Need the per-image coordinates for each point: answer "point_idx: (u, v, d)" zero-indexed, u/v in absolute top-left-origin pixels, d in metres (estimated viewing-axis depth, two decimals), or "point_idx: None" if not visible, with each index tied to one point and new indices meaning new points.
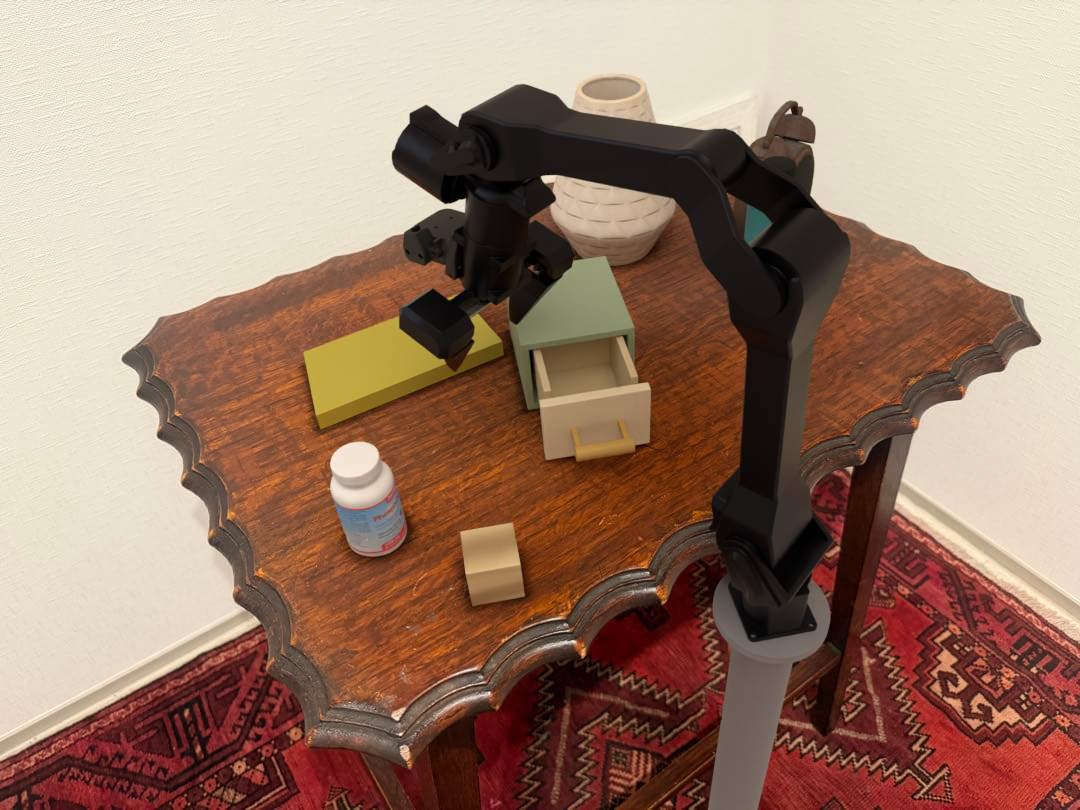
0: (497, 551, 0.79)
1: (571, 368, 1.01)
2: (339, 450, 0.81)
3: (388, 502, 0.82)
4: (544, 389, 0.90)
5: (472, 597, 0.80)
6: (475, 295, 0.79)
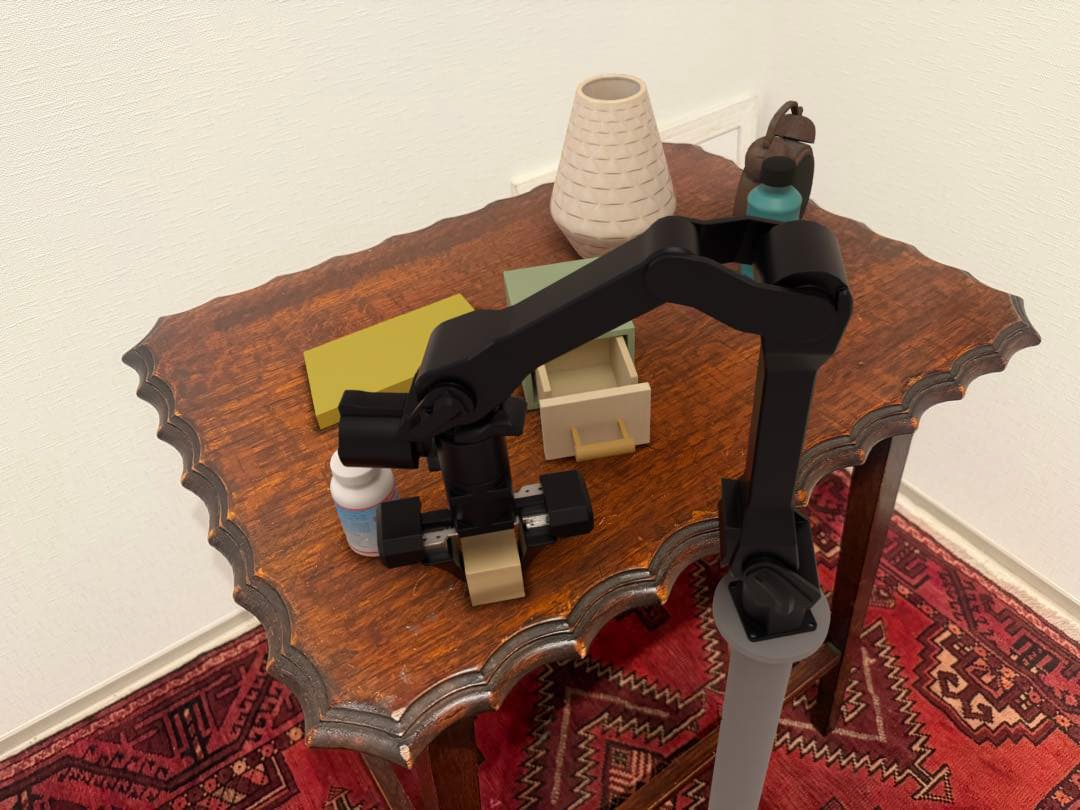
0: (497, 551, 0.79)
1: (571, 368, 1.01)
2: None
3: None
4: (544, 389, 0.90)
5: (472, 597, 0.80)
6: (452, 519, 0.75)
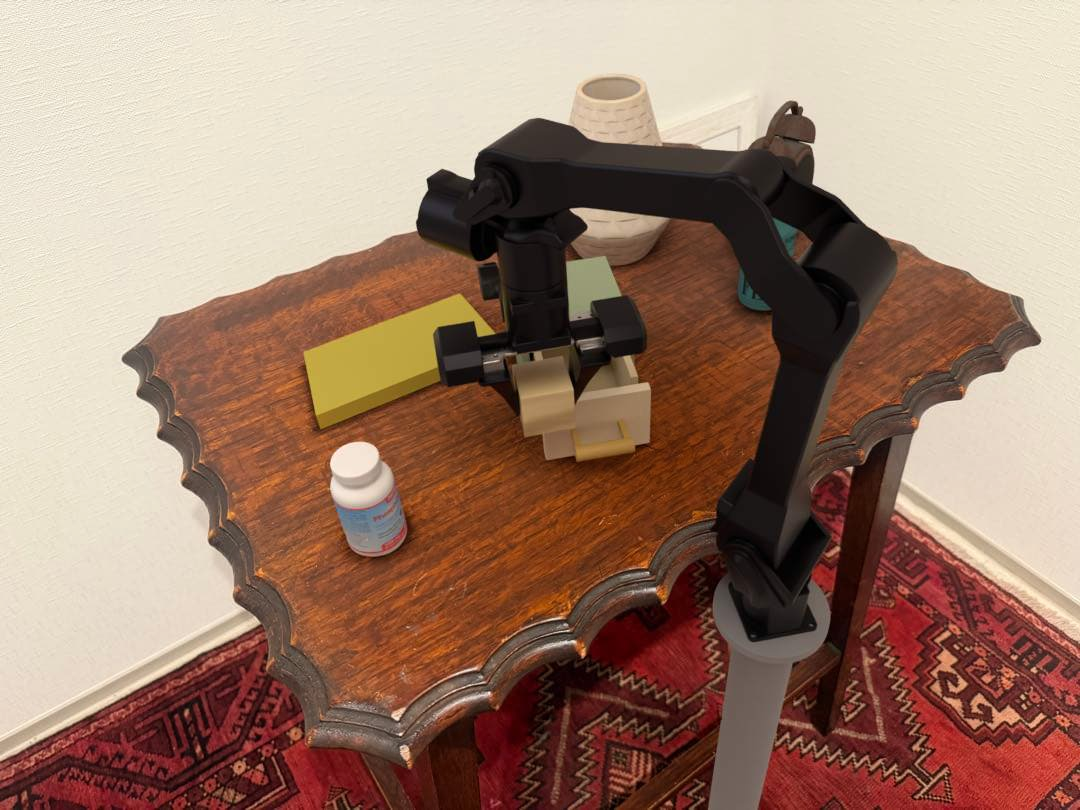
0: (549, 379, 0.81)
1: None
2: (339, 450, 0.81)
3: (388, 502, 0.82)
4: None
5: (525, 426, 0.82)
6: (508, 340, 0.77)
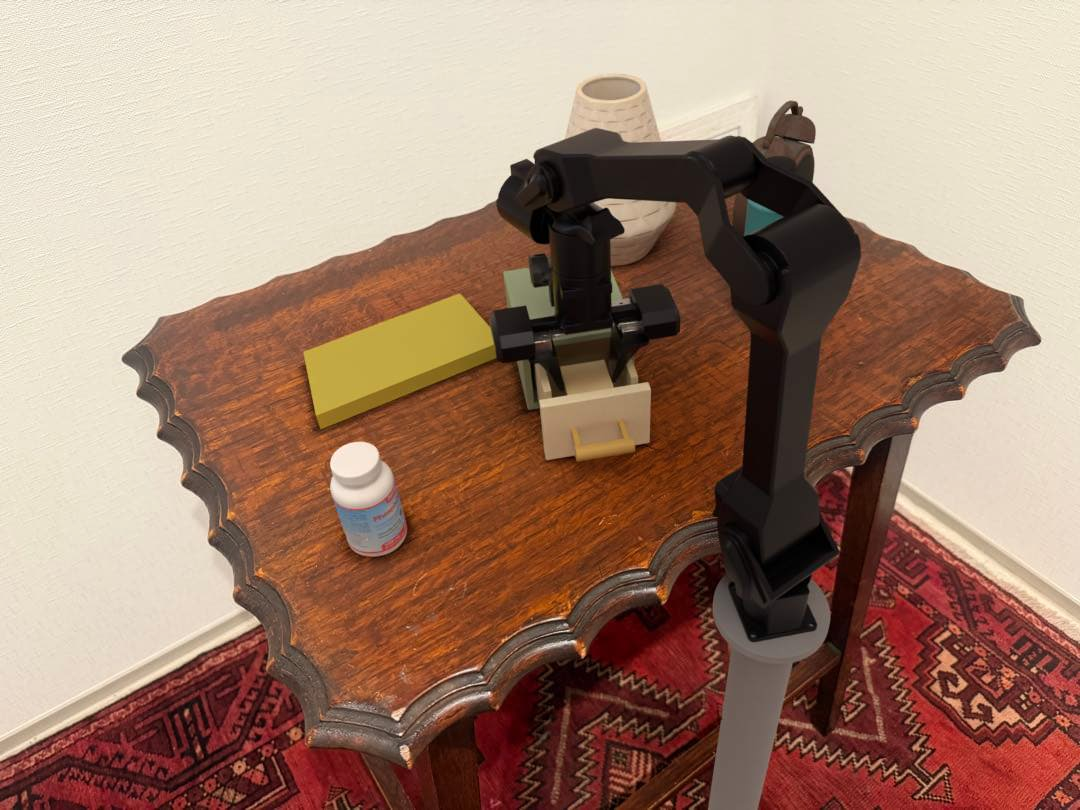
0: (593, 380, 0.93)
1: None
2: (339, 450, 0.81)
3: (388, 502, 0.82)
4: (544, 389, 0.90)
5: None
6: (557, 322, 0.87)
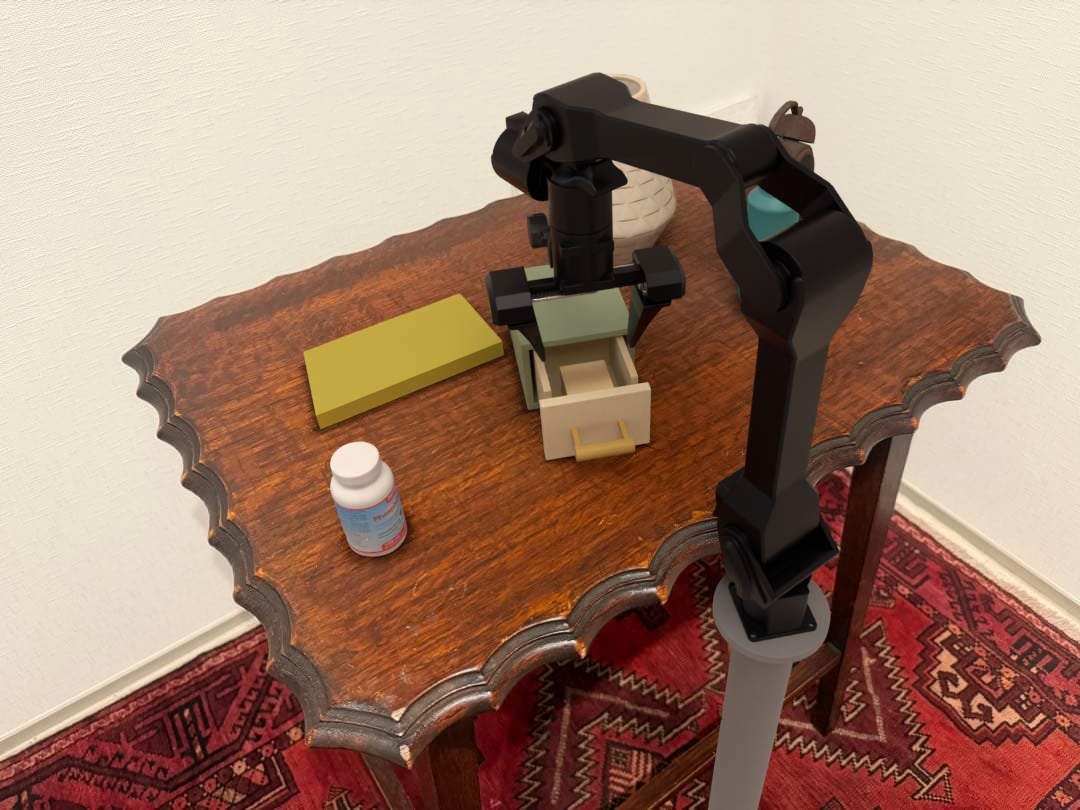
0: (593, 380, 0.93)
1: None
2: (339, 450, 0.81)
3: (388, 502, 0.82)
4: (544, 389, 0.90)
5: None
6: (556, 283, 0.82)
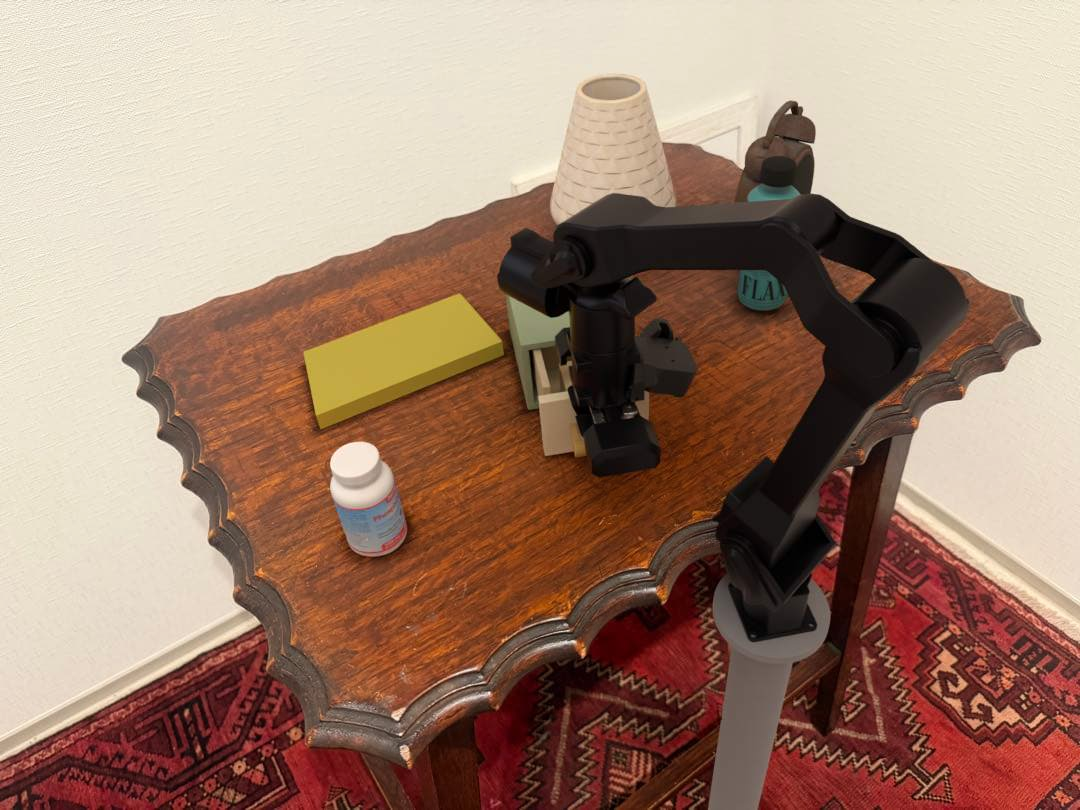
0: None
1: None
2: (339, 450, 0.81)
3: (388, 502, 0.82)
4: (543, 385, 0.90)
5: None
6: None
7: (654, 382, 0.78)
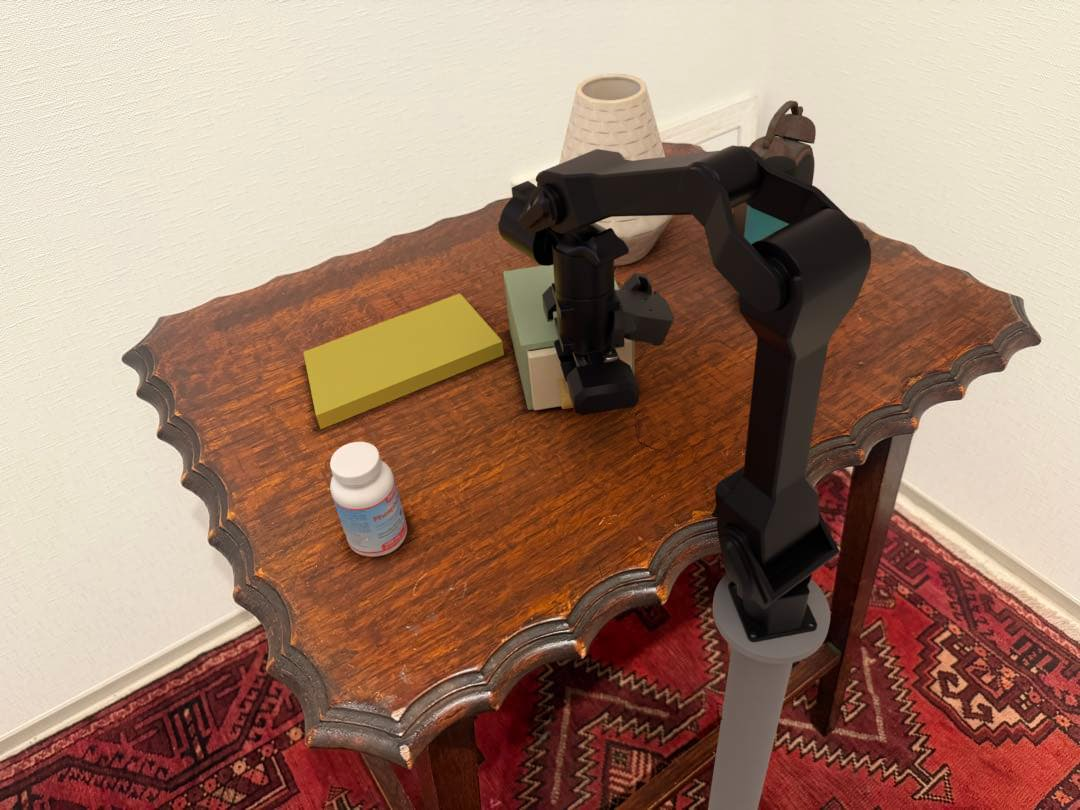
0: None
1: None
2: (339, 450, 0.81)
3: (388, 502, 0.82)
4: None
5: None
6: None
7: (633, 329, 0.84)
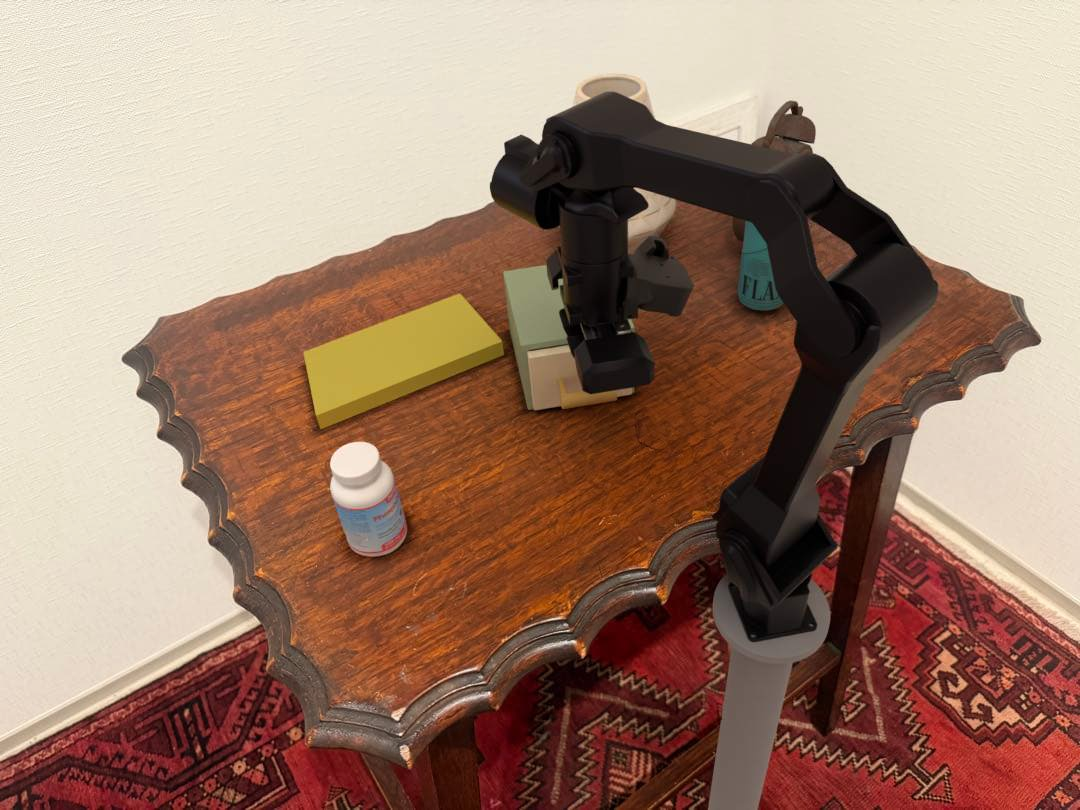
0: None
1: None
2: (339, 450, 0.81)
3: (388, 502, 0.82)
4: None
5: None
6: None
7: (648, 298, 0.75)
